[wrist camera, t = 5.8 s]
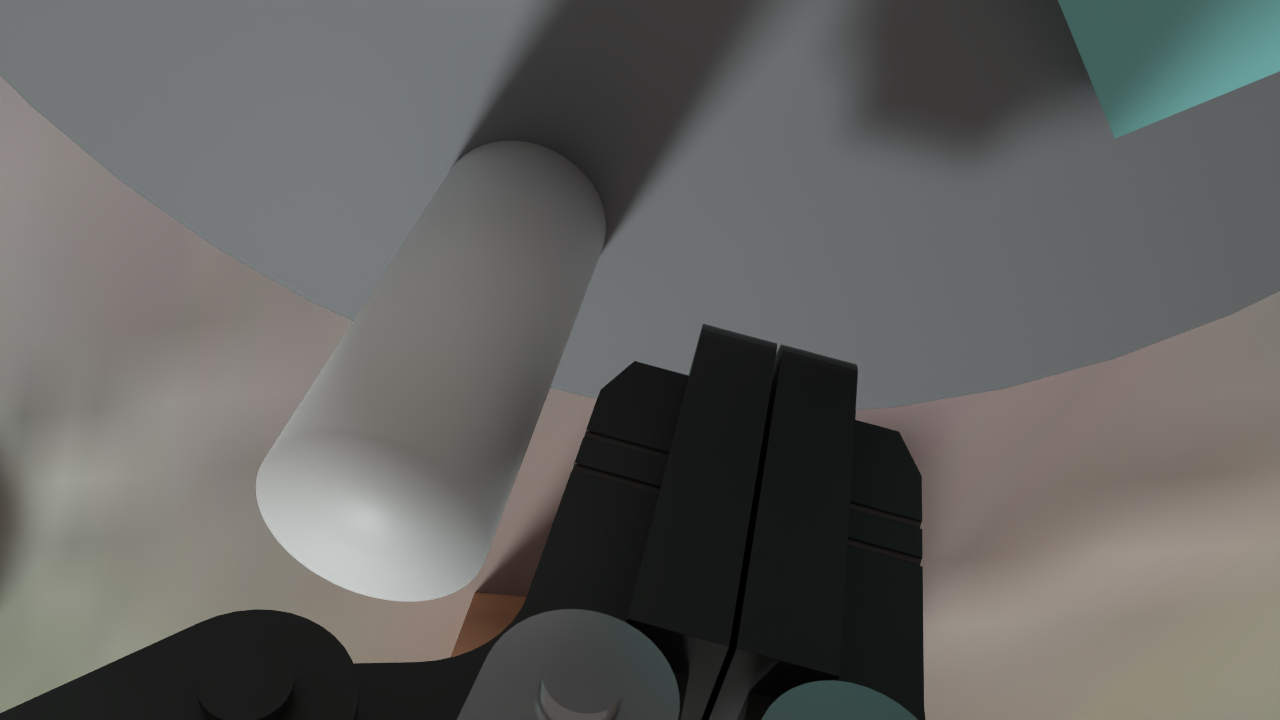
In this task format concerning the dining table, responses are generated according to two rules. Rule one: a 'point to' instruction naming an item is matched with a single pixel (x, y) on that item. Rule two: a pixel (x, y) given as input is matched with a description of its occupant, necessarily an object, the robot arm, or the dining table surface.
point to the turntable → (666, 205)
